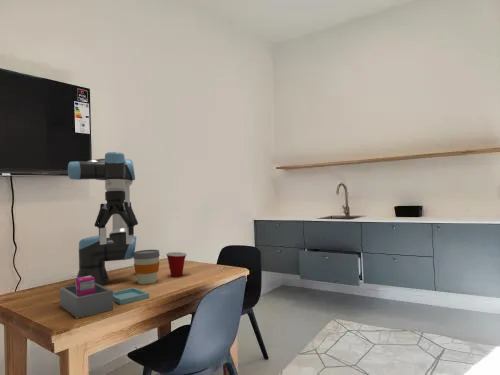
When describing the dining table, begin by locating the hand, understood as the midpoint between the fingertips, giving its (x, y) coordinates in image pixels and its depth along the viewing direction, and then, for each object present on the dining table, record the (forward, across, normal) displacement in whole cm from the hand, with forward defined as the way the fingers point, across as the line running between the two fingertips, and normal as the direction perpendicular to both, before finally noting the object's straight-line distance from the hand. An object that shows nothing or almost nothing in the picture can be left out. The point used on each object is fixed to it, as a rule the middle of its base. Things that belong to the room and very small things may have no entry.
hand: (116, 244), depth 134 cm
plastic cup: (+21, -6, +49) cm, 54 cm away
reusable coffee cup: (+22, -13, +33) cm, 42 cm away
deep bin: (+23, -9, -7) cm, 26 cm away
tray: (+23, -2, +8) cm, 24 cm away
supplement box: (+24, -9, -7) cm, 26 cm away
